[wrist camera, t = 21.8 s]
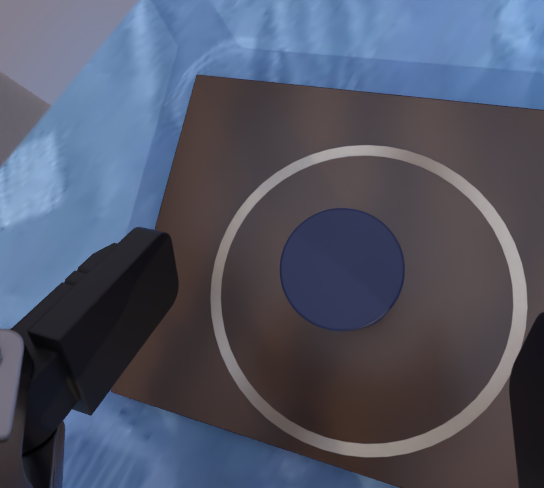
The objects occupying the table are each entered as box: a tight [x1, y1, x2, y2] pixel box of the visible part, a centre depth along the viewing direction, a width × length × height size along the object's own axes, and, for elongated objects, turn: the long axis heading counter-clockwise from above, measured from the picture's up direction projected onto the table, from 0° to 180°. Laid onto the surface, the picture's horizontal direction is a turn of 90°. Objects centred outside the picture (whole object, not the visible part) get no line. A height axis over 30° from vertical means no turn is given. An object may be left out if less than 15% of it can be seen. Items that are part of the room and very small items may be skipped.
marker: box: [280, 208, 405, 332], centre depth 14 cm, size 3×3×9 cm
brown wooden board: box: [111, 75, 544, 488], centre depth 19 cm, size 18×16×1 cm
